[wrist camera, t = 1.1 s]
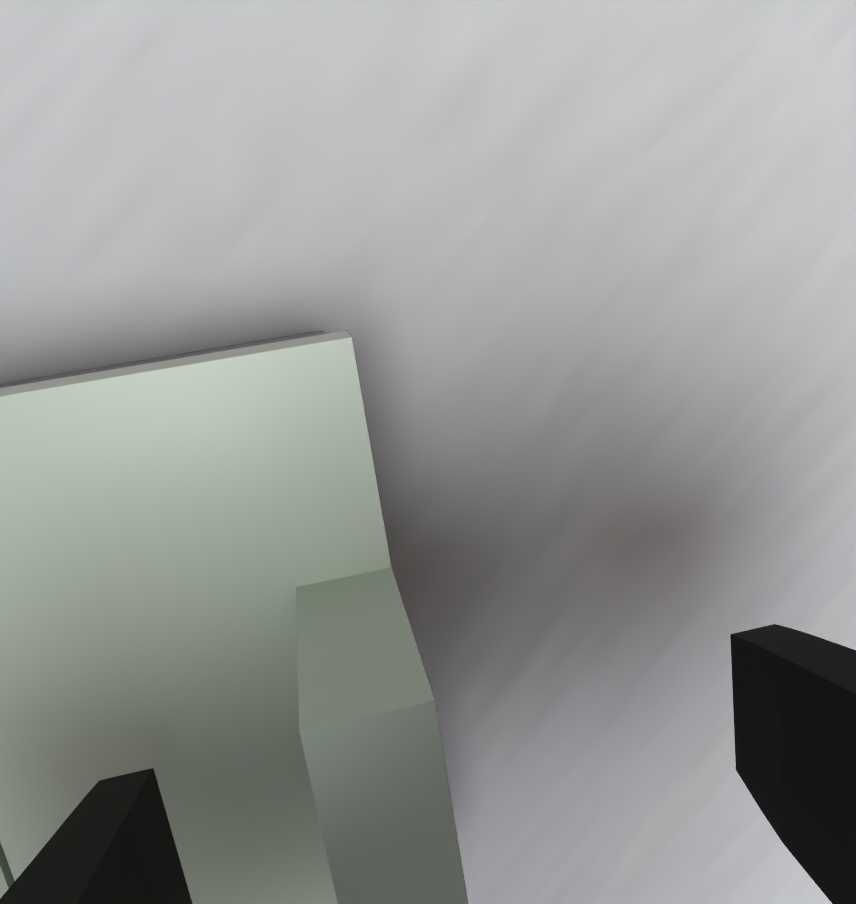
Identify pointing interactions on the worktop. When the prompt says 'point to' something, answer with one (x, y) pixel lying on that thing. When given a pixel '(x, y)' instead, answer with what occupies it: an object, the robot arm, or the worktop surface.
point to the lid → (218, 628)
